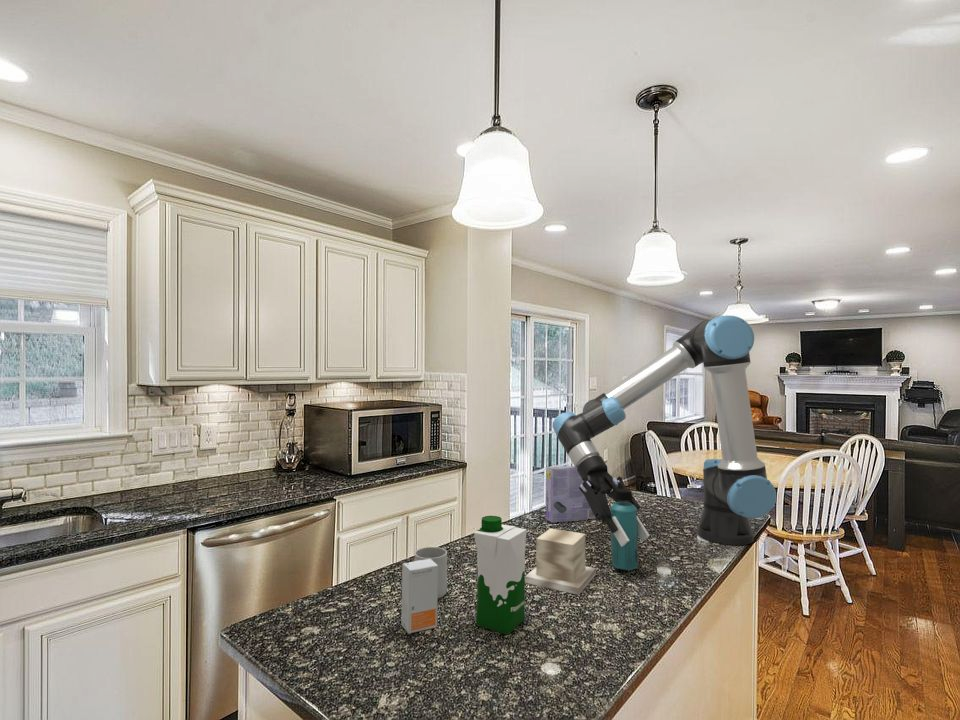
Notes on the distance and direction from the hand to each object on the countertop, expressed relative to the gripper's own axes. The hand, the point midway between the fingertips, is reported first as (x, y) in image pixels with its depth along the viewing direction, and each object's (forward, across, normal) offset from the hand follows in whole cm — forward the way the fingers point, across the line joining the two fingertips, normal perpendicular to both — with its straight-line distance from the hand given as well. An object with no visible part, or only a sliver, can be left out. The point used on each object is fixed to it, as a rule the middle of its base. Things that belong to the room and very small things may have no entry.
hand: (635, 540), depth 124 cm
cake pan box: (-24, -19, -37) cm, 48 cm away
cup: (-5, +48, -18) cm, 51 cm away
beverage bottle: (+4, 0, -9) cm, 9 cm away
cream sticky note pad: (0, +16, -12) cm, 20 cm away
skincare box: (+3, +55, -9) cm, 56 cm away
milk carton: (+8, +40, -4) cm, 41 cm away
